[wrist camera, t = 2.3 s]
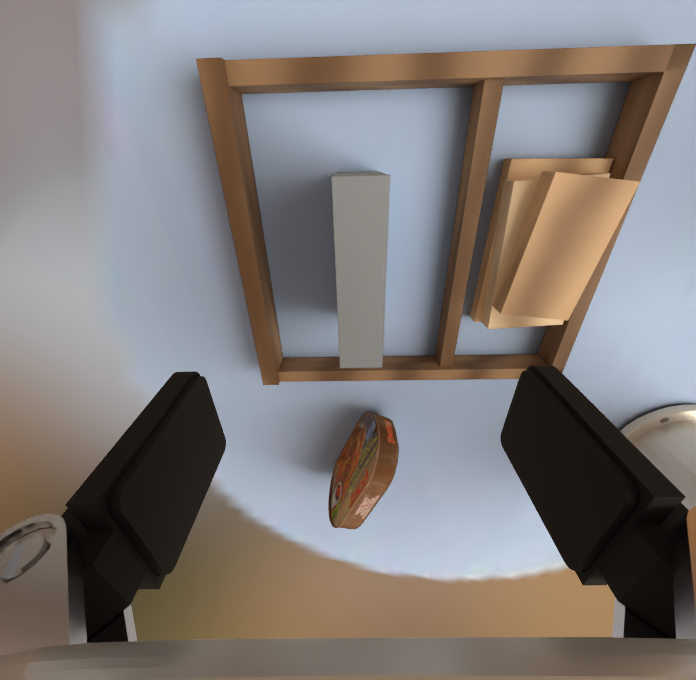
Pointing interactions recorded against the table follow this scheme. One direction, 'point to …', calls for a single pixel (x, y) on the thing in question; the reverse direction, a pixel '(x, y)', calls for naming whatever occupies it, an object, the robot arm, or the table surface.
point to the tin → (363, 471)
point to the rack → (488, 79)
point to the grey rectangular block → (360, 264)
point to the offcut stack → (546, 239)
